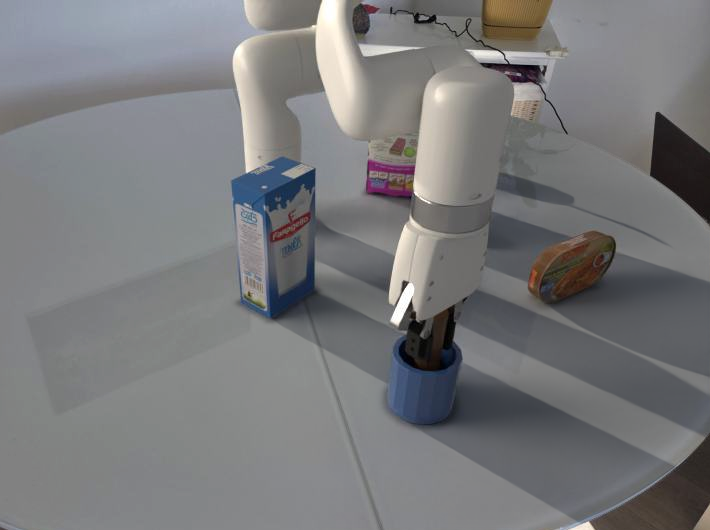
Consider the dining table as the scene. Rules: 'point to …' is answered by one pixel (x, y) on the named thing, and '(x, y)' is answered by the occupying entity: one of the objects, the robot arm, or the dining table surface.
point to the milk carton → (275, 234)
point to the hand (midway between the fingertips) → (428, 349)
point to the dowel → (435, 343)
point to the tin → (571, 266)
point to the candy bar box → (392, 165)
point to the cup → (423, 385)
